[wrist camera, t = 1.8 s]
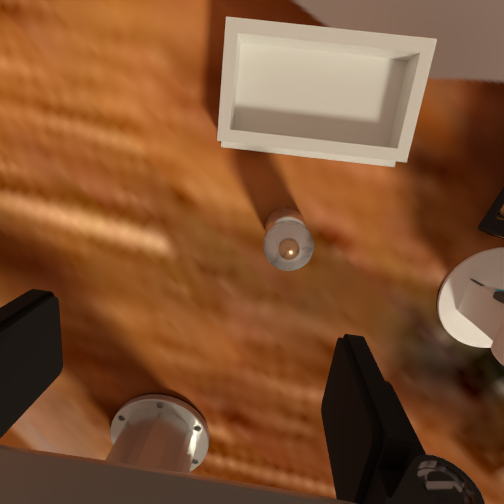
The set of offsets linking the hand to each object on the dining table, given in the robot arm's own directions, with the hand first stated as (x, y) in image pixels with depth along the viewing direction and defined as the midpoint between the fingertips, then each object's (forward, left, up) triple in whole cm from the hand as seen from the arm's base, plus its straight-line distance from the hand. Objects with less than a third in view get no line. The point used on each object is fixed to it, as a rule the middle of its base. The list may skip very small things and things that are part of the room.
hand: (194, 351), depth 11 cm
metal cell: (-1, -4, -23) cm, 24 cm away
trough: (+11, -5, -23) cm, 26 cm away
